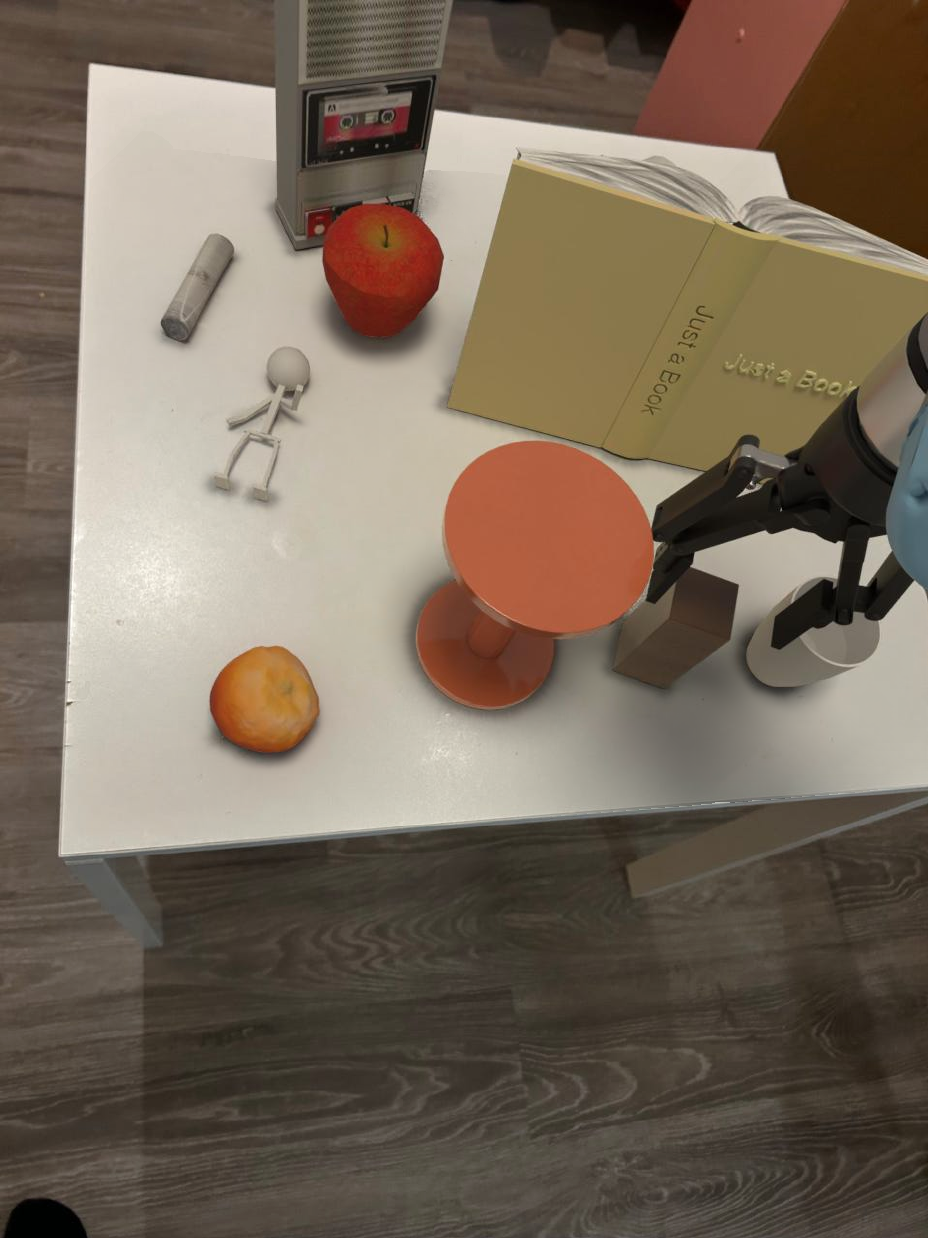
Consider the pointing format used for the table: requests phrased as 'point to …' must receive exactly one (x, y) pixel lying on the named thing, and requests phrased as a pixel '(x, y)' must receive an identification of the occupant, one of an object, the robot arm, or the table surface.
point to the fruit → (264, 700)
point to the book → (674, 311)
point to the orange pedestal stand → (529, 569)
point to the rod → (197, 287)
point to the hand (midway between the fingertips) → (715, 610)
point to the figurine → (271, 408)
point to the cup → (812, 646)
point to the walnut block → (677, 629)
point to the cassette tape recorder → (353, 106)
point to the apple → (381, 267)
